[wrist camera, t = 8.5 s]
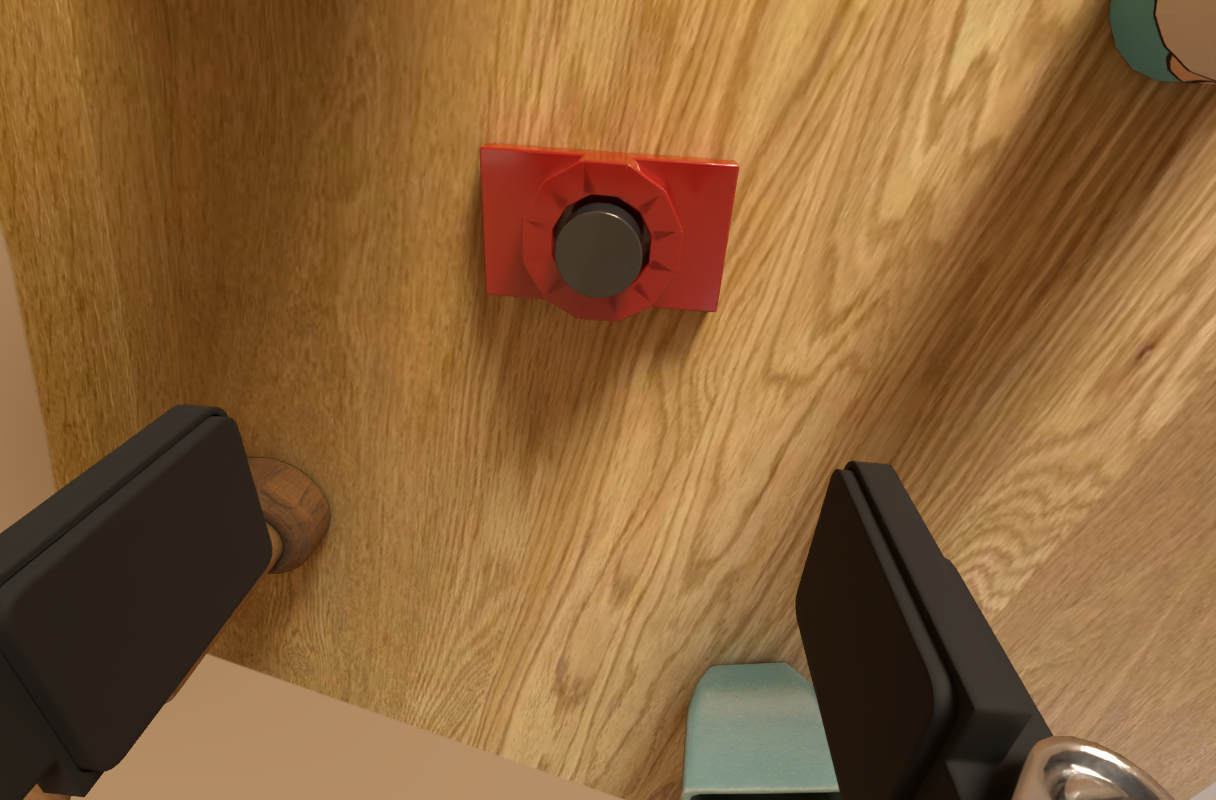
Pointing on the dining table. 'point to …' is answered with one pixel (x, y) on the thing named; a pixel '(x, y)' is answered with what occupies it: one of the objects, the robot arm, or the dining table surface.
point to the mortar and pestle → (271, 536)
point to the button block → (640, 183)
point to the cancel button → (599, 250)
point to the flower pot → (756, 737)
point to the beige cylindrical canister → (1167, 38)
